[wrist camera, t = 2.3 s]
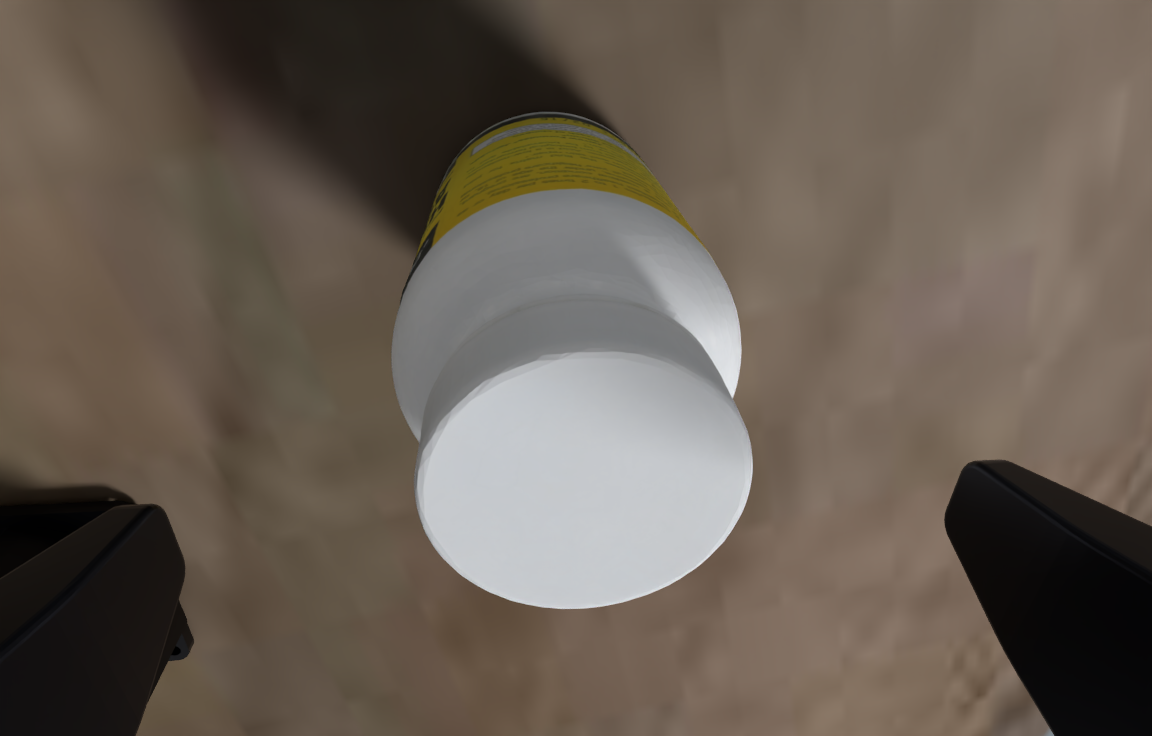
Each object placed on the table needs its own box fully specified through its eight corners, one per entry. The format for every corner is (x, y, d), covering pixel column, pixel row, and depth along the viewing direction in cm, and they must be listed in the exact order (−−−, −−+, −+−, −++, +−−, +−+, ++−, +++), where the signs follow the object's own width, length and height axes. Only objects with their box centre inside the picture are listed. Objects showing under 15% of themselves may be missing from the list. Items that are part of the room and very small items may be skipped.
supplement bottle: (414, 116, 14) (290, 301, 6) (657, 98, 15) (861, 253, 6) (450, 334, 17) (399, 670, 9) (655, 316, 18) (794, 624, 9)
